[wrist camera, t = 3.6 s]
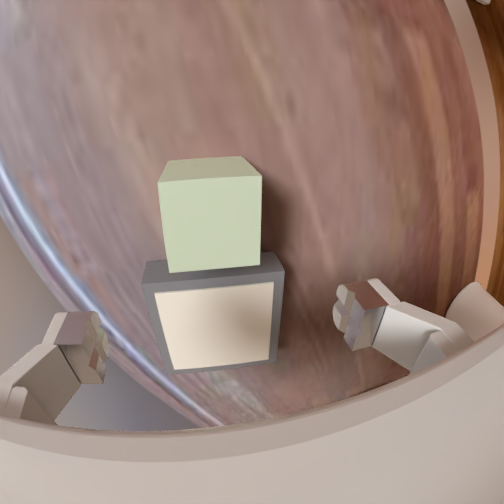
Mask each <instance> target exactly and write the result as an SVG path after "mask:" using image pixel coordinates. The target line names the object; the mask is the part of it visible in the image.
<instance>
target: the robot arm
mask: <svg viewBox="0 0 504 504" xmlns="http://www.w3.org/2000/svg"><path fill="white" fill-rule="evenodd" d="M476 1H477V2H479V3H481V4H483V5H487V4H490V1H491V0H476ZM336 295H337V297H338V301H337V302H336V303H335V304H334V307H333V320H334V323H335V325H336V327H337V329H338V330H339V331H341V332H343V333H345V334H344V340H345V341H346V343H347V344H348V346H349V347H350V349H351V350H352V351H354V350H358V349H362V348H366V347H370V346H372V347H373V348H374V349H376V350H378V351H379V352H381V353H382V354H384V355H385V356H387V357H389V358H390V359H392V360H393V361H395V362H396V363H398V364H400V365H401V366H403V367H404V368H406V369H408V370H409V371H411V372H410V373H409V375H408V376H406V377H403V378H401V379H398V380H396V381H393V382H391V383H388V384H386V385H383V386H381V387H378V388H375V389H373V390H370V391H367V392H364V393H361V394H359V395H356V396H353V397H350V398H346V399H343V400H340V401H337V402H334V403H330V404H327V405H323V406H320V407H316V408H312V409H308V410H305V411H301V412H296V413H292V414H288V415H283V416H279V417H274V418H269V419H264V420H258V421H253V422H247V423H240V424H233V425H226V426H218V427H209V428H199V429H187V430H170V431H111V430H110V431H109V430H94V429H83V428H74V427H65V426H58V425H57V424H56V423H55V421H54V420H55V419H56V418H57V416H58V415H59V413H60V412H61V411H62V410H63V408H64V407H65V405H66V404H67V403H68V402H69V400H70V399H71V398H72V396H73V395H74V394H75V392H76V391H77V390H78V389H79V387H80V386H81V384H103V382H104V376H105V371H106V367H105V365H104V363H103V362H104V361H105V360H106V359H108V355H109V342H108V338H107V335H106V332H105V331H104V330H103V329H102V328H100V327H99V326H100V323H101V320H100V318H99V315H98V313H97V312H95V311H86V312H58V313H56V314H55V316H54V318H53V320H52V322H51V324H50V326H49V328H48V331H47V333H46V335H45V337H44V339H43V342H42V344H41V345H37V346H35V347H34V348H33V349H32V350H31V351H29V352H28V353H27V354H26V355H25V356H23V357H22V358H21V359H20V360H19V361H18V362H16V363H15V364H14V365H13V366H12V367H10V368H9V369H8V370H7V371H6V372H5V373H4V374H2V375H1V376H0V504H504V324H502V325H501V326H499V327H498V328H496V329H495V330H493V331H491V332H490V333H488V334H487V335H485V336H483V337H482V338H480V339H478V340H477V341H475V342H474V341H473V340H472V339H471V338H470V337H469V336H468V335H467V333H466V332H465V331H464V330H463V329H462V328H461V327H460V326H459V325H458V324H457V323H456V322H453V321H451V320H449V319H446V318H444V317H441V316H439V315H436V314H434V313H431V312H429V311H427V310H424V309H422V308H419V307H417V306H414V305H412V304H409V303H407V302H400V301H399V299H398V298H397V297H396V296H395V295H394V294H393V293H392V292H391V291H390V290H389V289H388V288H387V287H386V286H385V285H384V284H383V283H382V282H381V281H380V280H379V279H376V278H372V279H368V280H364V281H359V282H354V283H348V284H342V285H339V287H338V288H337V293H336Z"/></svg>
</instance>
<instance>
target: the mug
mask: <svg viewBox="0 0 504 504" xmlns="http://www.w3.org/2000/svg"><path fill="white" fill-rule="evenodd" d="M445 318H446V319H449V320H451V321H453V322H456V323H457V324H458V325H459V326H460V327H461V328H462V329H463V330H464V331H465V332H466V333H467V335H468V336H469V337H470V338H471V339H472V340H473V341H474V342H475V341H477V340H478V339H480V338H482V337H483V336H485V335H487V334H488V333H490V332H491V331H493V330H495V329H496V328H498V327H499V326H501V325H502V324H504V307H503V306H502V305H501V304H500V303H499V302H498V301H497V300H495V299H494V298H493V297H492V296H491V295H490V294H489V293H488V292H487V291H486V290H485V289H484V288H483V287H482V286H481V284H480V283H479V282H472V283H470V284H468V285H467V286H466V287H464V288H463V289H462V290H461V291H460V293H459V294H458V295H457V296H456V297H455V299H454V300H453V302H452V303H451V305H450V307H449V309H448V311H447V313H446V316H445Z"/></svg>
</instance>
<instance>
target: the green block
mask: <svg viewBox="0 0 504 504" xmlns="http://www.w3.org/2000/svg"><path fill="white" fill-rule="evenodd" d="M158 191H159V200H160V209H161V218H162V226H163V234H164V241H165V248H166V255H167V261H168V268H169V273H175V272H186V271H198V270H209V269H221V268H232V267H242V266H253V265H260V242H261V200H262V175H261V174H260V173H259V172H258V171H257V170H256V169H255V168H254V167H253V166H252V165H251V164H250V163H249V162H248V161H247V160H245V159H244V158H243V157H242V156H237V157H215V158H199V159H185V160H174V161H168V163H167V165H166V167H165V169H164V171H163V173H162V175H161V177H160V179H159V181H158Z"/></svg>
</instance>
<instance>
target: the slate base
mask: <svg viewBox="0 0 504 504" xmlns="http://www.w3.org/2000/svg"><path fill="white" fill-rule="evenodd" d="M284 276H285V270H284V268H283V267H282V265H281V263H280V261H279V259H278V258H277V256H276V254H275V252H274V251H268V252H260V265H253V266H242V267H232V268H221V269H209V270H198V271H186V272H175V273H169V268H168V261H167V260H163V261H152V262H146V266H145V270H144V275H143V279H142V284H141V285H142V289H143V293H144V297H145V301H146V305H147V309H148V312H149V316H150V320H151V323H152V327H153V330H154V334H155V337H156V341H157V344H158V347H159V350H160V354H161V357H162V360H163V363H164V366H165V369H166V372H167V374H179V373H193V372H204V371H215V370H224V369H232V368H240V367H248V366H255V365H262V364H268V363H274V362H276V359H277V349H278V340H279V330H280V320H281V310H282V299H283V288H284Z"/></svg>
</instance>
